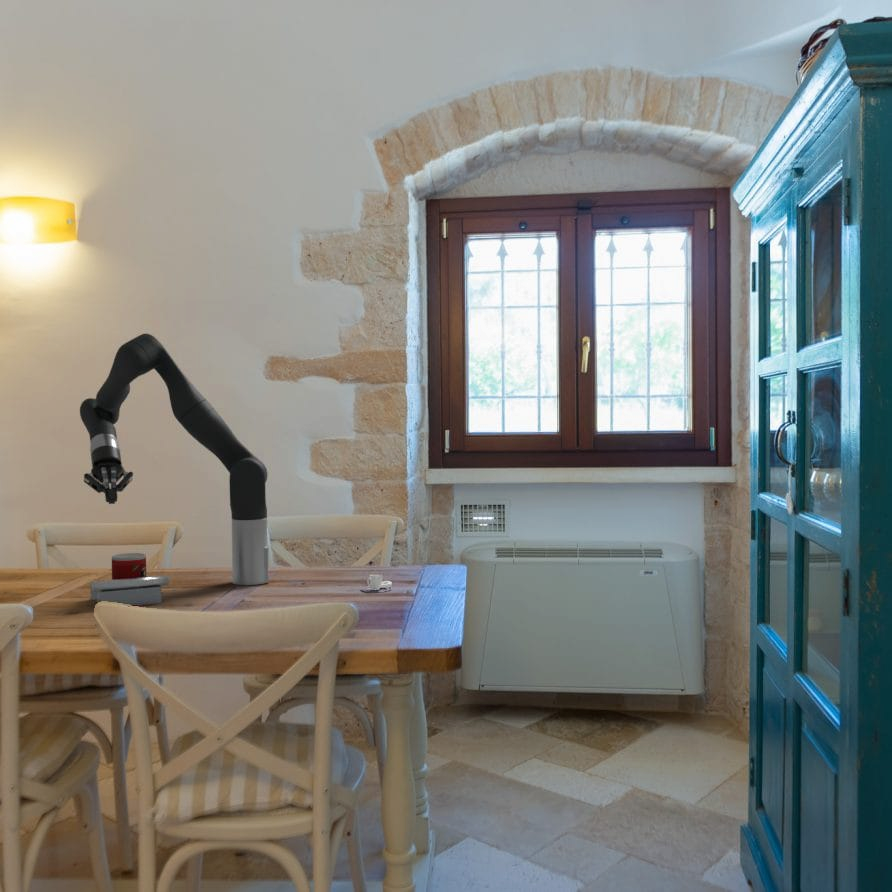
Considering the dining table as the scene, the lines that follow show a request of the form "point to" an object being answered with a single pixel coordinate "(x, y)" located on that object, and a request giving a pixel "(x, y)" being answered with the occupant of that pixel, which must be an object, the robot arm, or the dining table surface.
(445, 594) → the dining table surface
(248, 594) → the dining table surface
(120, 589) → the cradle
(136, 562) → the canned food
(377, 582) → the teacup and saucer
